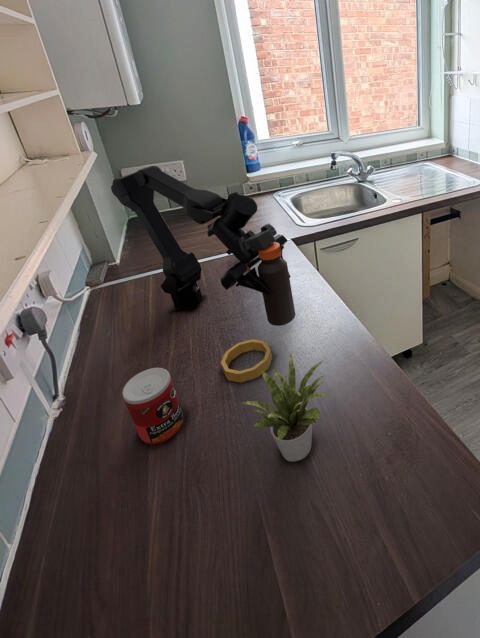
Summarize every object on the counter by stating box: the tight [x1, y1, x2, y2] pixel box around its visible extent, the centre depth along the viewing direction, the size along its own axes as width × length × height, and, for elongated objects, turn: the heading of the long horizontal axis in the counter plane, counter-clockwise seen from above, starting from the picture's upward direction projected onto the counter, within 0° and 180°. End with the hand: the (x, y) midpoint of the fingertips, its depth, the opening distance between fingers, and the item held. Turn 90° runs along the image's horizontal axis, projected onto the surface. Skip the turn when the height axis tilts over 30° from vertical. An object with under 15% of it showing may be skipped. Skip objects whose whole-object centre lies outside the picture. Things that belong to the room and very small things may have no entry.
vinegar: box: [257, 242, 296, 327], centre depth 96 cm, size 7×7×20 cm
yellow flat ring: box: [220, 339, 273, 384], centre depth 90 cm, size 10×11×2 cm
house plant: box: [240, 353, 330, 463], centre depth 68 cm, size 14×14×16 cm
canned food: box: [122, 367, 184, 445], centre depth 74 cm, size 8×8×11 cm
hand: (280, 286), depth 95 cm, fingers closed on vinegar, 7 cm apart
